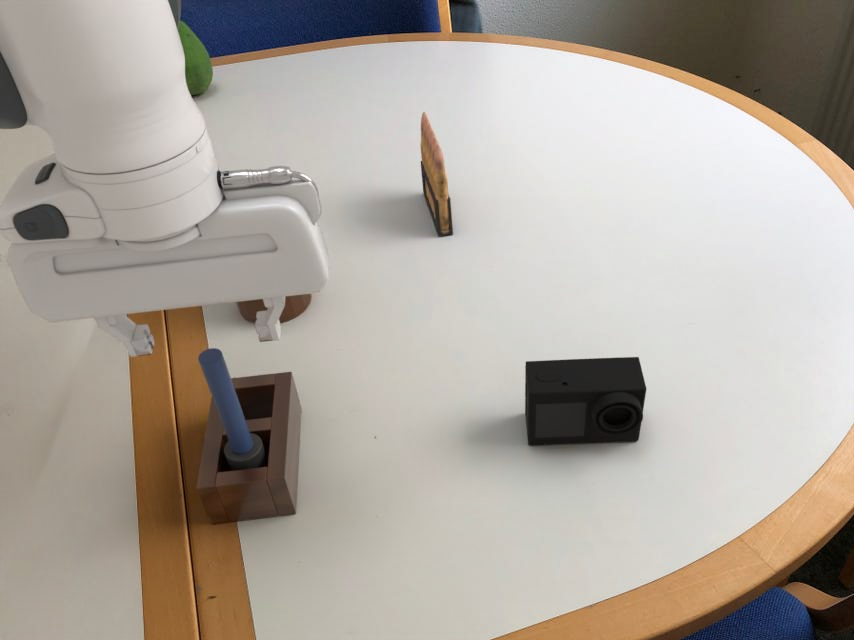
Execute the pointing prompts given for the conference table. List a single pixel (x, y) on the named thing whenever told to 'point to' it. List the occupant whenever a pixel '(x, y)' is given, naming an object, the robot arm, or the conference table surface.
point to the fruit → (195, 61)
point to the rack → (280, 433)
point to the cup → (290, 311)
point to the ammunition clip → (435, 180)
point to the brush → (231, 415)
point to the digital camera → (584, 400)
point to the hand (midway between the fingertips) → (207, 343)
